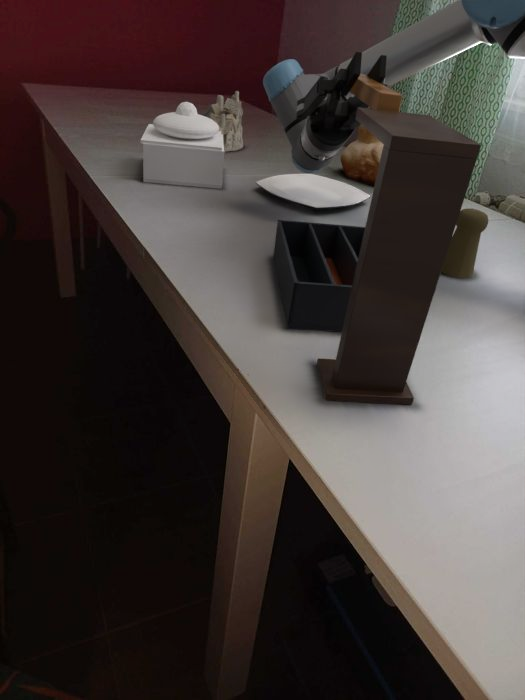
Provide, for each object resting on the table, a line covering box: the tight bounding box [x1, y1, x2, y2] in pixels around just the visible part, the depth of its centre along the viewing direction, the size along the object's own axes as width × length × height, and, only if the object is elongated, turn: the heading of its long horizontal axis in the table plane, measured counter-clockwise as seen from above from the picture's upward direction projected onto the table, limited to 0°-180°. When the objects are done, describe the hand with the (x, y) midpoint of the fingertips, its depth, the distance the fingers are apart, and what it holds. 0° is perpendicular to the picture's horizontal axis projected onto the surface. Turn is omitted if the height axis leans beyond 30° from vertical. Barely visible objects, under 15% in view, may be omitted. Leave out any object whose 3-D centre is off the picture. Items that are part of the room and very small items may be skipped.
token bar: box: [349, 73, 403, 112], centre depth 67 cm, size 20×2×2 cm, turn 3°
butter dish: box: [140, 101, 226, 190], centre depth 123 cm, size 18×18×16 cm
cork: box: [441, 208, 489, 279], centre depth 93 cm, size 6×6×11 cm
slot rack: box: [272, 219, 365, 333], centre depth 81 cm, size 23×16×7 cm, turn 3°
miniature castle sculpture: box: [202, 90, 244, 153], centre depth 153 cm, size 16×16×15 cm
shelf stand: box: [316, 107, 482, 405], centre depth 59 cm, size 15×10×28 cm, turn 3°
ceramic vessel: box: [340, 125, 384, 187], centre depth 138 cm, size 14×26×15 cm, turn 48°
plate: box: [255, 173, 371, 211], centre depth 123 cm, size 23×23×2 cm
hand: (370, 64), depth 67 cm, fingers closed on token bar, 2 cm apart
